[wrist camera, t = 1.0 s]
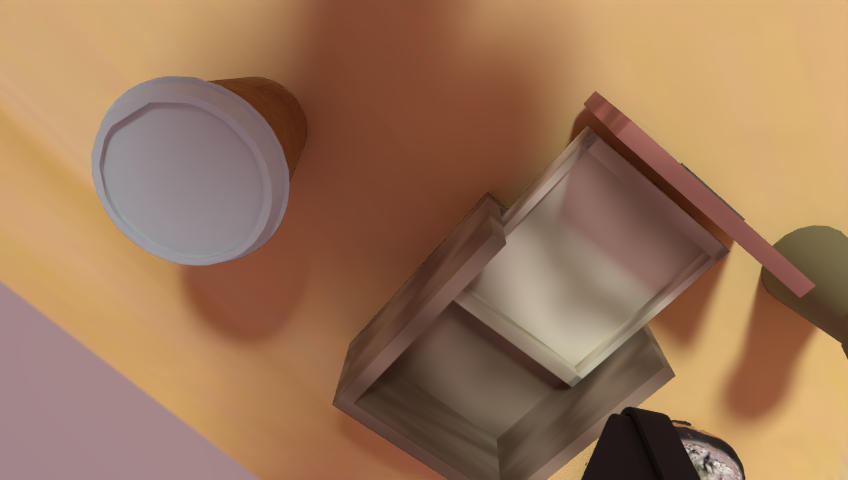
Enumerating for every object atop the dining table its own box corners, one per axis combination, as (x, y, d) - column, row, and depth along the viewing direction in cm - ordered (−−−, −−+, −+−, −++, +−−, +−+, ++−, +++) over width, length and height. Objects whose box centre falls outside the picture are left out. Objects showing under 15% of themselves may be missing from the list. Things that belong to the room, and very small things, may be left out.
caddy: (487, 192, 40) (493, 233, 33) (642, 316, 43) (675, 375, 37) (349, 344, 45) (332, 404, 39) (496, 443, 49) (503, 514, 42)
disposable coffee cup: (327, 51, 37) (272, 83, 26) (334, 196, 40) (289, 277, 30) (176, 48, 37) (59, 78, 26) (198, 192, 41) (103, 271, 30)
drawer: (596, 89, 36) (633, 118, 28) (749, 226, 39) (818, 284, 31) (431, 269, 41) (426, 332, 34) (577, 376, 44) (600, 455, 37)
